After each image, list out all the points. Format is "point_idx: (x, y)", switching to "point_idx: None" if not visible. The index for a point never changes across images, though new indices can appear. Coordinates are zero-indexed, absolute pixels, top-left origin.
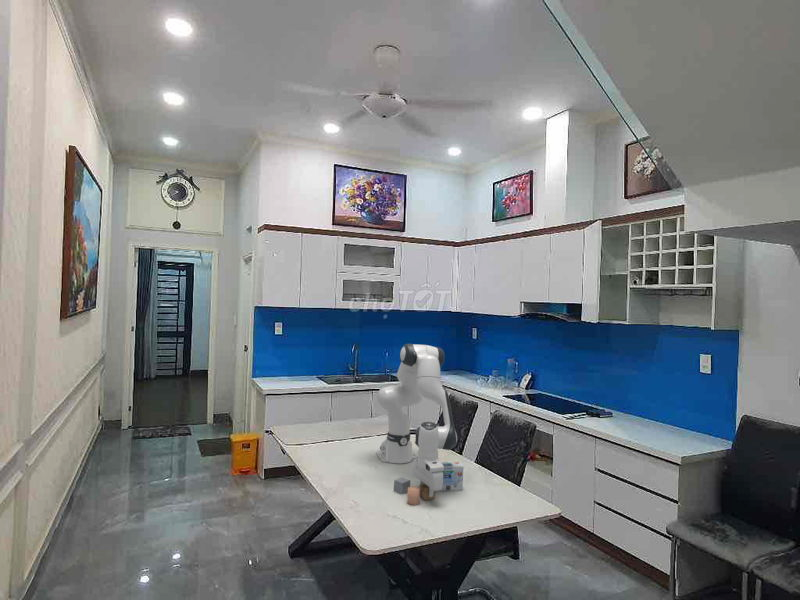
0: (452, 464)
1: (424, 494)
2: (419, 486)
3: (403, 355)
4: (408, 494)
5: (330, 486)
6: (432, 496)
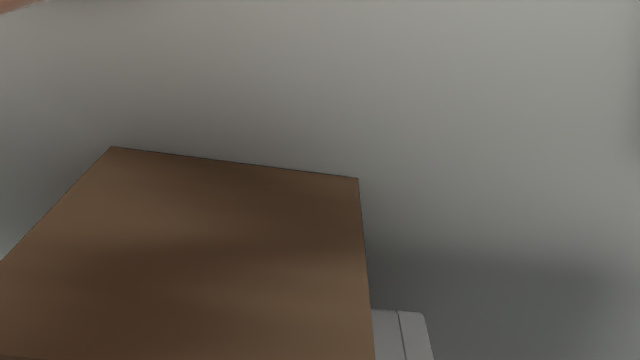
0: None
1: (45, 215)
2: (349, 338)
3: None
4: None
5: None
6: None
